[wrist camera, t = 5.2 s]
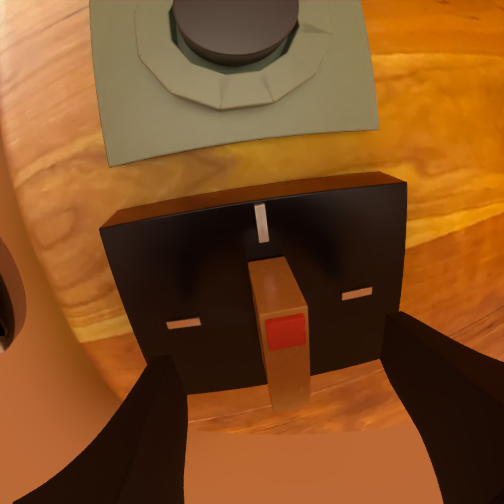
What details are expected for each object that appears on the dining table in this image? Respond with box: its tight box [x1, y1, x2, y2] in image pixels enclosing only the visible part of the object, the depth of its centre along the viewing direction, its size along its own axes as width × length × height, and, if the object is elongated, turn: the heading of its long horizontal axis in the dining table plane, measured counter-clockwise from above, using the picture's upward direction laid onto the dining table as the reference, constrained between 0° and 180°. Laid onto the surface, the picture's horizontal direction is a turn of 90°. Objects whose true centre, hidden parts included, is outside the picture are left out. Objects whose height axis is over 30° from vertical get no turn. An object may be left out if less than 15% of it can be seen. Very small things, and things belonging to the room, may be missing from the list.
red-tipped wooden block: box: [248, 257, 311, 412], centre depth 11 cm, size 4×1×4 cm, turn 8°
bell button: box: [173, 0, 299, 66], centre depth 8 cm, size 4×4×2 cm
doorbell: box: [89, 0, 379, 167], centre depth 9 cm, size 11×9×3 cm
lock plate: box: [99, 172, 407, 395], centre depth 14 cm, size 12×9×3 cm
